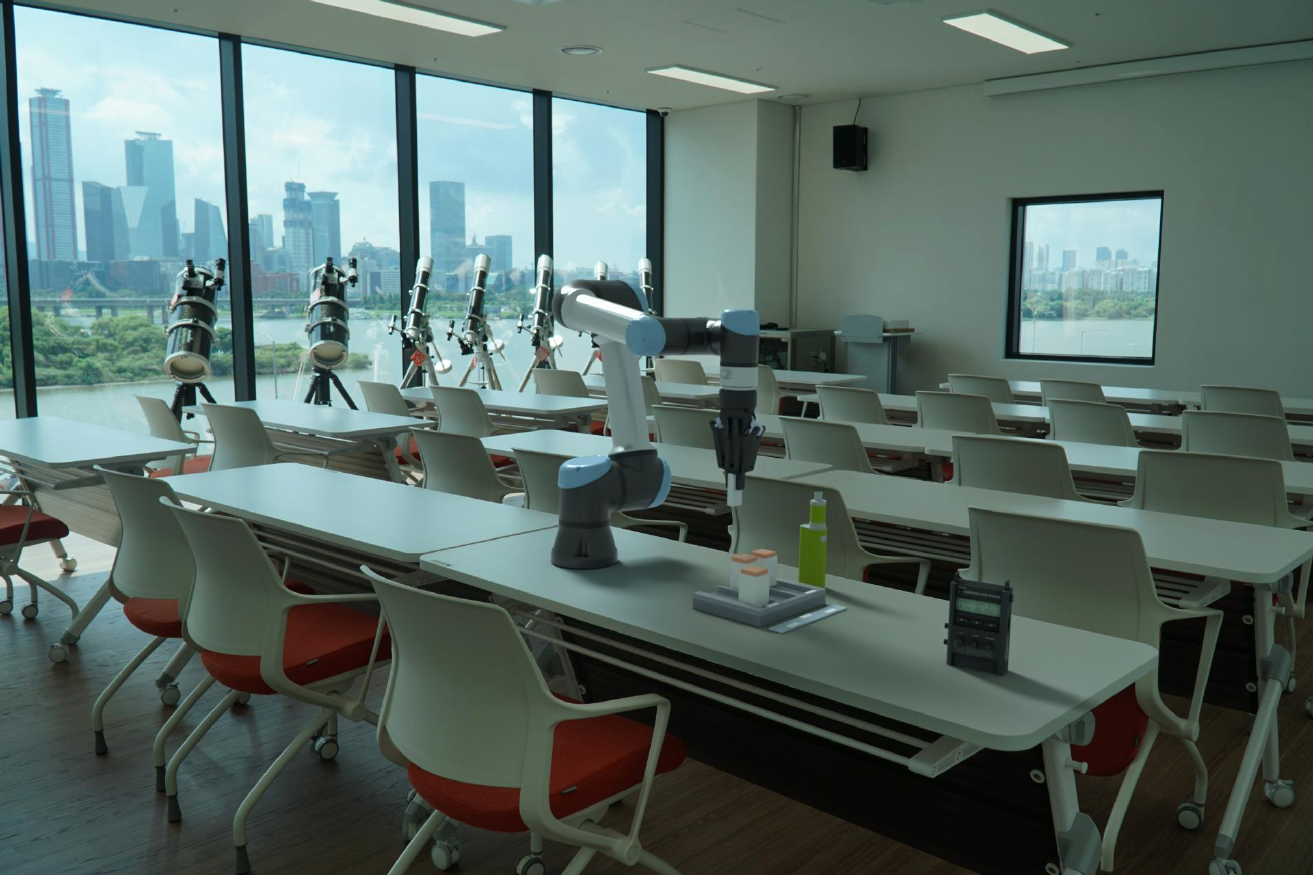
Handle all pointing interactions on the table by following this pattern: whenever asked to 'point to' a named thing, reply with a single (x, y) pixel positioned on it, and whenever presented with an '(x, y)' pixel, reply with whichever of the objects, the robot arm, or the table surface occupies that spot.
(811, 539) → the vape
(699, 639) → the table surface
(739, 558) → the orange-topped white block
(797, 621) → the label card
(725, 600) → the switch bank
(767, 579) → the orange topped white block
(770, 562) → the white orange-topped block
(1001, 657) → the geiger counter
